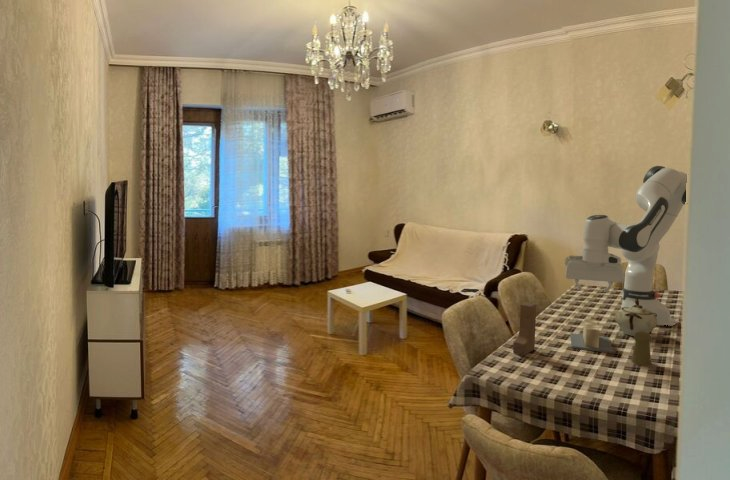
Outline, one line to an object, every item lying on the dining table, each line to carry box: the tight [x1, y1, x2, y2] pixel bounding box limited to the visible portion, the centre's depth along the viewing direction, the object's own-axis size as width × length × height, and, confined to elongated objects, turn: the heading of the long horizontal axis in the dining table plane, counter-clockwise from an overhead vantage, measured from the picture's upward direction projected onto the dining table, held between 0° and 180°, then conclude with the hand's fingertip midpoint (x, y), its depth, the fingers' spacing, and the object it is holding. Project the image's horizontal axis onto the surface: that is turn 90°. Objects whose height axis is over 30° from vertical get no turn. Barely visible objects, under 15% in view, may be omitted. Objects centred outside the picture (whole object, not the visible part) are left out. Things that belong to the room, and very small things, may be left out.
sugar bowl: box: [614, 299, 658, 337], centre depth 180 cm, size 20×15×15 cm
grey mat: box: [569, 332, 614, 354], centre depth 170 cm, size 14×16×1 cm
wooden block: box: [512, 302, 537, 357], centre depth 162 cm, size 9×4×18 cm, turn 134°
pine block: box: [582, 318, 601, 348], centre depth 170 cm, size 4×7×14 cm
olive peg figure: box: [630, 332, 653, 367], centre depth 151 cm, size 6×6×11 cm
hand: (592, 291), depth 168 cm, fingers open, 8 cm apart
